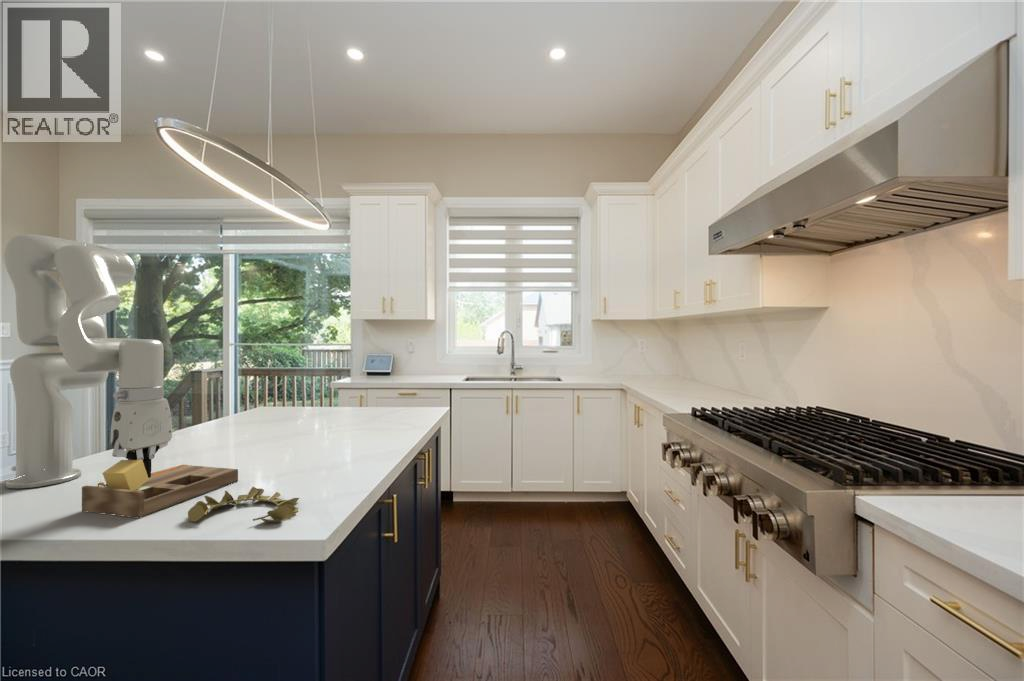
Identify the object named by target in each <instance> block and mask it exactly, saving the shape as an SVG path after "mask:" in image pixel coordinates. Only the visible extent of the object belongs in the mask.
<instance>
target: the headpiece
mask: <svg viewBox="0 0 1024 681" xmlns="http://www.w3.org/2000/svg"><path fill="white" fill-rule="evenodd" d="M264 492H265V490H264V489H263V488H257V487H255V486H251V488H250V490H249V492H248V493H247V494H239V495H238V496H237V499H234V497H233V496H232V495H231V493H229V492H228V490H224V495H223V496H222V498H221V501H219V502H218V501H217V500H216V499H214V498H213V497H211V496H208V495H204V499H205V501H206V502H204V501H202V500H200V501H197V502H196V503H193V505H192V507H190V508H189V509H188V512H187V517H188V520H189V521H191V522H197V521H199V520H200V519H201V518H203V517H206V516H207V514H208V513H209V511H210V510H211V509H213V510H214V509H218V508H219V507H220V506H222V505H230V504H232V505H238V504H239V503H241V502H242V501H243V502H247V501H252V502H253V503H254V502H256V501H263V502H266V503H273V504H275V505H276V506H277V507H276V508H275V509H272V510H267V514H266V515H263V516H260V517H257V518H253V519H252V522H254V521H259V520H261V521H263V522H265V523H281V522H282V521H285V520H288V519H291V518H294V517H296V516H297V514H296V512H297V511H298V509H300V508H299V507H297V506H294V505H295V504H296V503H297V502H298V501H299V499H300V497H293V498H291V499H284V498H280V496H281V493H280V492H278V491H276V492H275V493H273V495H272V496H270V495H263V494H264ZM278 502H279V503H278ZM298 512H299V511H298ZM268 517H270V518H271V519H268Z"/></svg>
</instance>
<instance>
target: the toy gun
mask: <svg viewBox="0 0 1024 681" xmlns="http://www.w3.org/2000/svg"><path fill="white" fill-rule="evenodd" d="M188 465H189V464H180V465H177V466H176V465H175V466H172V467H169V468H166V469H162V470H159V471H155V472H151V476H154V475H157V474H161V473H164V472H168V471H171V470H174V469H178V468H181V467H185V466H188ZM97 485H98V486H97V487H100V486H99V485H104V486H103V487H106V486H107V484H106V483H105V482H101V481H100V482H99V483H97ZM105 485H106V486H105Z"/></svg>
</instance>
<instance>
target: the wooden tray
mask: <svg viewBox="0 0 1024 681" xmlns="http://www.w3.org/2000/svg"><path fill="white" fill-rule="evenodd" d="M187 465H188V466H185V467H181V468H178V469H174V470H171V471H168V472H164V473H161V474H157V475H154V476H151V477H150V478H149V480H148V481H147V482H145V483H144V484H143V485H142V486H140V487H139V488H138V489H136V490H126V489H116V488H108V487H106V486H97V485H96V486H95V485H84V486H82V487H81V512H82V511H88V512H87V513H90V512H96V513H95V514H99V513H105V514H104V515H107V514H115V515H114V516H116V515H124V516H130V517H129V518H132V517H138V518H137V519H141V518H140V517H142V518H144V516H145V517H147V516H150V515H152V513H153V514H155V513H158V512H161V511H163V510H166V509H169V508H171V507H174V506H176V505H178V504H182V503H184V502H187V501H190V500H193V499H196V498H197V497H201V496H203V495H205V494H209V493H211V492H213V491H216V490H220V489H221V488H224V487H226V486H227V487H228V486H229V484H230V485H232V484H235V483H238V482H239V469H238V468H228V467H227V468H225V467H214V466H205V465H204V466H203V465H193V464H192V465H191V464H190V465H189V464H187ZM237 481H238V482H237ZM234 482H235V483H234ZM231 483H232V484H231ZM160 510H161V511H160ZM149 514H150V515H149ZM146 515H147V516H146ZM124 516H123V517H124Z"/></svg>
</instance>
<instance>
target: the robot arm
mask: <svg viewBox="0 0 1024 681" xmlns="http://www.w3.org/2000/svg"><path fill="white" fill-rule="evenodd" d="M3 257H4V258H3V259H4V264H5V268H6V271H7V274H8V276H9V278H10V281H11V283H12V285H13V288H14V293H15V312H16V327H17V336H18V338H19V340H20V342H21V343H22V344H23V345H26V346H29V347H34V348H35V347H36V348H37V347H38V348H59V349H60V350H61V351H59V352H58V351H54V352H53V351H52V352H50V351H49V352H47V351H46V352H45V351H44V352H33V353H28V354H24V355H21V356H18V357H17V358H16V359H15V360H13V362H12V363H11V365H10V367H9V376H10V380H11V384H12V388H13V392H14V400H15V465H13V466H12V467H11V468H10V469H11V471H12V472H15V477H12V478H11V479H13V478H17V477H19V476H22V477H20V478H17V479H14V480H10V479H8V480H9V481H8V480H6V481H5V487H6V488H7V489H32V488H39V487H40V488H41V487H47V486H51V485H57V484H61V483H65V482H68V481H71V480H72V481H73V480H74V479H77V478H79V477H81V476H82V470H81V469H79V468H73V457H74V455H73V452H74V450H73V446H74V443H73V441H74V440H73V437H74V434H73V432H74V430H73V428H74V427H73V426H74V421H73V420H74V416H73V415H74V413H73V412H74V409H73V405H72V403H71V402H70V401H69V400H68V399H67V397H65V395H63V394H62V393H61V392H60V391H65V390H77V389H78V390H79V389H89V388H90V389H91V388H95V387H99V386H101V385H103V384H105V382H106V381H107V380H108V377H109V373H110V372H111V373H113V372H115V373H116V372H118V389H117V390H118V392H113V394H112V397H113V399H114V400H118V402H117V403H115V405H114V408H113V413H112V418H111V423H110V425H111V426H110V434H109V436H110V439H109V440H110V441H109V442H110V447H111V449H113V450H112V457H114V458H115V457H116V458H125V459H126V460H143V463H144V466H145V469H146V472H147V475H148V478H150V477H151V473H152V460H153V459H155V456H156V453H157V452H158V451H159V449H163V448H164V447H166V446H168V444H169V442H171V441H172V438H173V421H172V420H173V419H172V414H171V413H172V412H171V408H170V404H169V400H168V398H164V389H165V388H164V370H165V369H164V363H165V361H164V356H165V355H164V354H165V352H164V344H163V342H162V341H160V340H159V339H150V338H147V339H146V338H145V339H144V338H130V337H128V338H126V337H125V338H124V337H122V338H121V337H120V338H119V337H118V338H117V337H108V331H107V326H106V323H105V321H104V320H103V318H102V317H101V316H102V315H106V314H108V313H110V312H112V311H114V310H116V309H117V308H118V307H119V306H120V305H121V302H122V301H121V300H122V299H121V296H120V293H119V291H118V288H117V287H116V285H119V286H121V285H123V286H124V285H127V284H128V285H129V284H130V283H132V281H134V279H135V276H136V274H137V270H136V269H137V268H136V264H135V263H134V261H133V258H131V256H130V255H129V254H127V253H126V252H123V251H120V250H117V249H114V248H109V247H106V246H103V245H98V244H94V243H88V242H83V241H77V240H70V239H65V238H61V237H55V236H48V235H43V234H42V235H41V234H31V233H30V234H29V233H25V234H19V235H15V236H12V237H11V238H10V239H9V240H8V241H7V243H6V245H5V248H4V256H3ZM48 272H50V273H51V272H52V273H58V274H59V278H60V280H61V282H62V284H63V286H62V285H61V283H60V282H59V281H58V280H57V279H56V278H55V277H54V276H52V275H51V274H50V273H48ZM67 298H68V299H69V302H70V305H71V306H69V308H68V306H67ZM44 469H45V470H44ZM23 475H25V476H23Z"/></svg>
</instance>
